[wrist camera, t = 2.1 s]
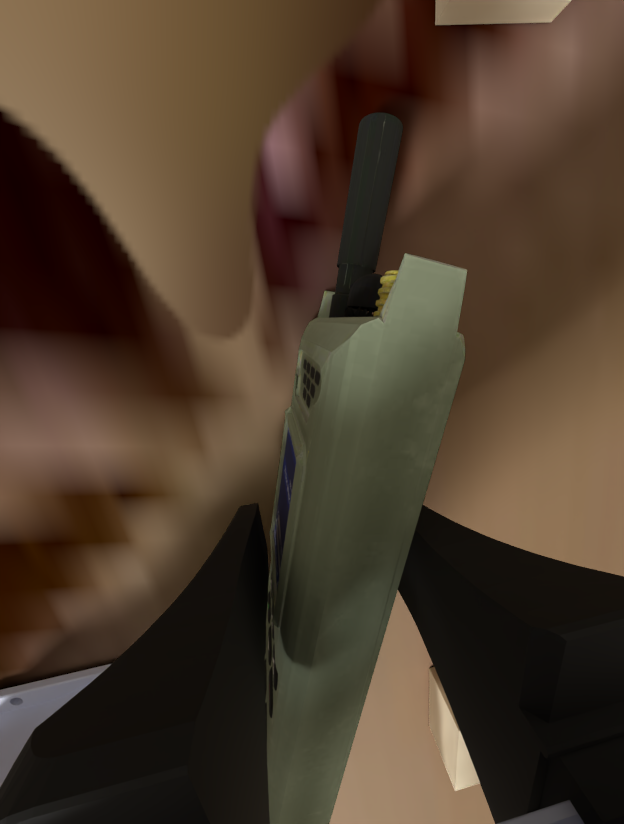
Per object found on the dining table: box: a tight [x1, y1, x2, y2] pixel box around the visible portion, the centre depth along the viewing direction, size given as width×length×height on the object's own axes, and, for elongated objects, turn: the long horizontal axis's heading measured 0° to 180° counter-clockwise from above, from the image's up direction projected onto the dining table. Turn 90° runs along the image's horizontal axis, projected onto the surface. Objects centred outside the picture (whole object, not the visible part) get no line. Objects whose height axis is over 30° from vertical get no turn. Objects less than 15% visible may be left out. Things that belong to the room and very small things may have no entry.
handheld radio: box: [264, 113, 467, 824], centre depth 10 cm, size 7×3×25 cm
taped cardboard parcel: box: [429, 0, 572, 791], centre depth 13 cm, size 4×42×3 cm, turn 7°
